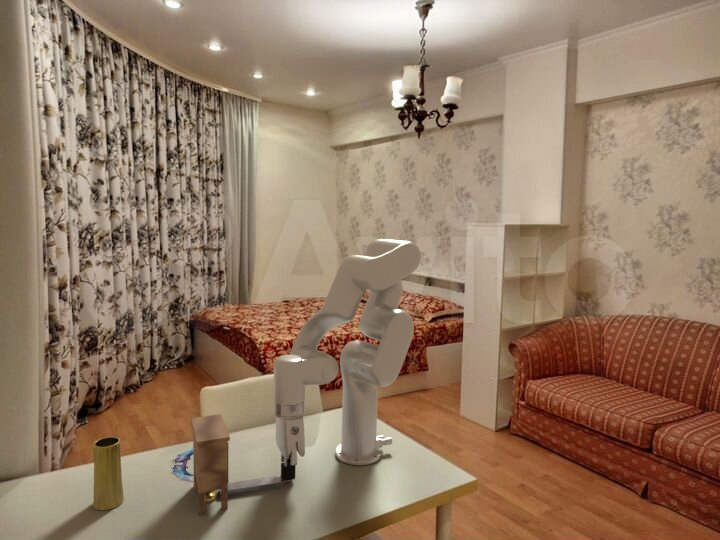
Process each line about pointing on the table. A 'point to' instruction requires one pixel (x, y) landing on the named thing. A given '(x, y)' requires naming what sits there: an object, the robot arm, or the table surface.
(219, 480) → the cabinet
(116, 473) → the vase
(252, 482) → the bar
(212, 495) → the token
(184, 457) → the decorative blades
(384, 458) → the table surface
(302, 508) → the table surface
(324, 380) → the robot arm
